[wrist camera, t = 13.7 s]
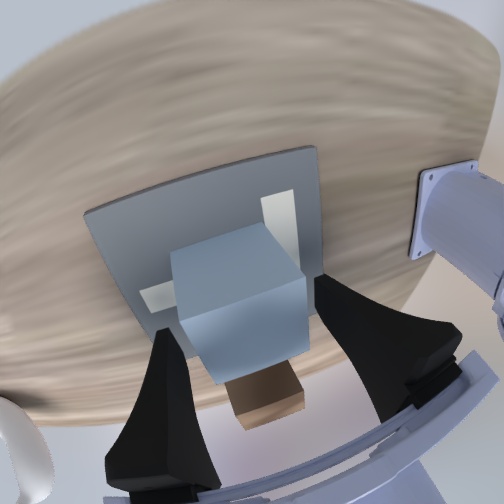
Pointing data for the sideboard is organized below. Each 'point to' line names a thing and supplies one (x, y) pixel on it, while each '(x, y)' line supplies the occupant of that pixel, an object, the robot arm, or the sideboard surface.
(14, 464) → the white curved piece
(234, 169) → the letter card
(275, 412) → the walnut block
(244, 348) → the blue cube
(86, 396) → the sideboard surface
